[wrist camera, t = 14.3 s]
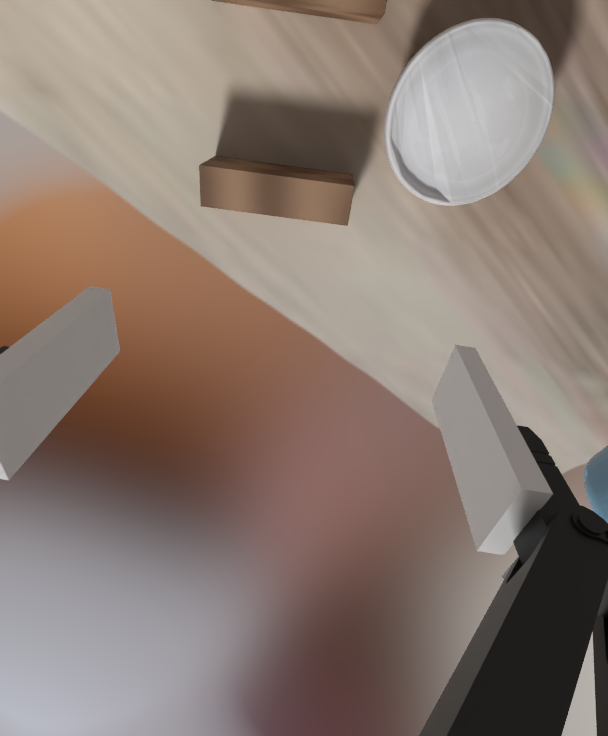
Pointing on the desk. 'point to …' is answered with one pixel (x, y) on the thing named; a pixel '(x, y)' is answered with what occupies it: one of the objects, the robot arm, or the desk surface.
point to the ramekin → (469, 111)
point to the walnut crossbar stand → (278, 182)
